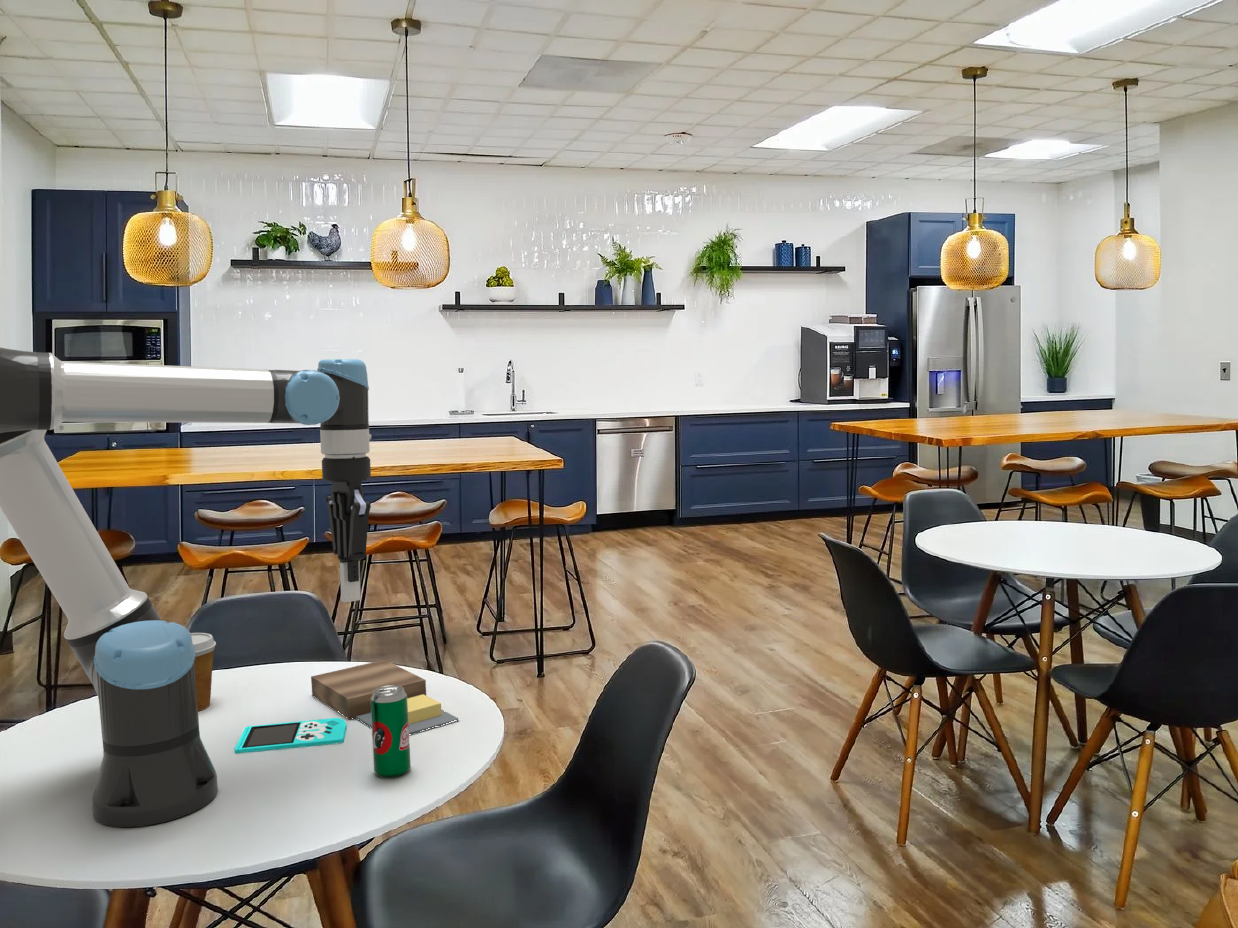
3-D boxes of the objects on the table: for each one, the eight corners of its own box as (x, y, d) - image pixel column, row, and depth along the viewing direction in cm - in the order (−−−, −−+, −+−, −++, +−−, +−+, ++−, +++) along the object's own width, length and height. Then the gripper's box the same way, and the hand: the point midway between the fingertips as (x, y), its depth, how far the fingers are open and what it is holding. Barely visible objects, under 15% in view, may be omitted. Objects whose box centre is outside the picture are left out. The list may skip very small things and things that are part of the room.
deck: (426, 699, 167) (425, 679, 166) (349, 719, 158) (348, 699, 158) (385, 677, 179) (384, 659, 179) (312, 695, 170) (311, 676, 170)
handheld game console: (343, 746, 148) (342, 738, 148) (233, 757, 145) (232, 749, 145) (348, 723, 158) (347, 715, 158) (245, 733, 155) (244, 724, 155)
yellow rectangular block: (423, 694, 162) (423, 705, 163) (373, 707, 157) (374, 719, 157) (440, 703, 158) (441, 714, 158) (390, 716, 152) (391, 729, 152)
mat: (459, 720, 156) (459, 718, 156) (390, 740, 149) (390, 738, 149) (421, 701, 166) (421, 698, 166) (355, 718, 159) (355, 716, 158)
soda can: (410, 777, 135) (405, 694, 134) (372, 781, 134) (368, 697, 133) (411, 763, 140) (407, 682, 139) (375, 766, 139) (371, 685, 138)
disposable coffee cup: (200, 694, 173) (195, 629, 172) (231, 704, 167) (226, 636, 166) (148, 710, 165) (143, 642, 164) (179, 721, 160) (173, 650, 158)
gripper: (384, 456, 152) (389, 604, 154) (352, 452, 162) (357, 590, 164) (338, 459, 147) (344, 611, 149) (308, 454, 157) (313, 596, 160)
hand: (350, 600), depth 157 cm, fingers closed
